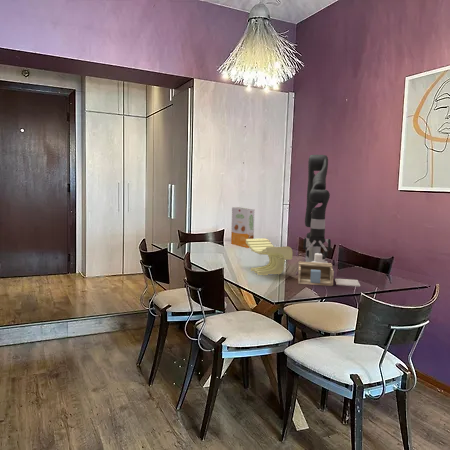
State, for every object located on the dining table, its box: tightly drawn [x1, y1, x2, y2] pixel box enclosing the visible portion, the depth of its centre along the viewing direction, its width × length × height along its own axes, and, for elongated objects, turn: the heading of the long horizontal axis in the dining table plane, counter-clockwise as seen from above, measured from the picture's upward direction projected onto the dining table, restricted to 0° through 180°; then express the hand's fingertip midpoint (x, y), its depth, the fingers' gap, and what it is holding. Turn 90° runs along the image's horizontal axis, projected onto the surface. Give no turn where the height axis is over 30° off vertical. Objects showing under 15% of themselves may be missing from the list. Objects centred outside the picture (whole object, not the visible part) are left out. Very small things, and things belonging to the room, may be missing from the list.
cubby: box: [297, 261, 335, 287], centre depth 230 cm, size 18×18×8 cm
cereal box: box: [230, 206, 255, 249], centre depth 338 cm, size 22×6×30 cm, turn 32°
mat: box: [334, 278, 361, 287], centre depth 227 cm, size 12×12×1 cm
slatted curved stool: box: [246, 237, 293, 276], centre depth 247 cm, size 30×16×18 cm, turn 19°
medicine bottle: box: [311, 252, 329, 263], centre depth 248 cm, size 7×7×12 cm
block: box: [310, 269, 321, 283], centre depth 226 cm, size 5×5×6 cm
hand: (316, 257), depth 224 cm, fingers open, 8 cm apart
